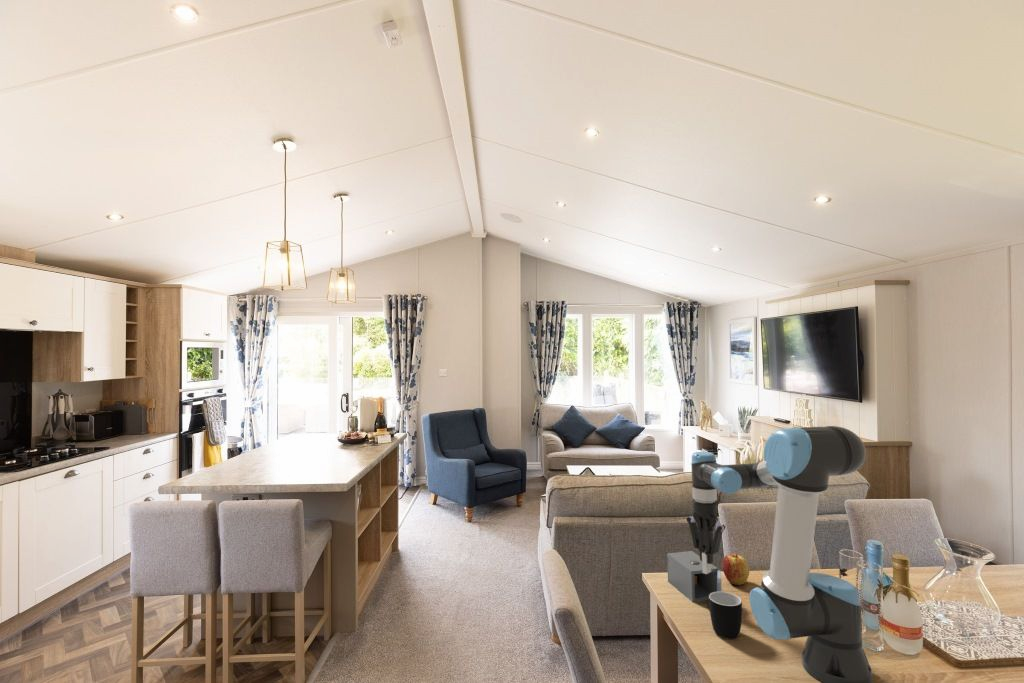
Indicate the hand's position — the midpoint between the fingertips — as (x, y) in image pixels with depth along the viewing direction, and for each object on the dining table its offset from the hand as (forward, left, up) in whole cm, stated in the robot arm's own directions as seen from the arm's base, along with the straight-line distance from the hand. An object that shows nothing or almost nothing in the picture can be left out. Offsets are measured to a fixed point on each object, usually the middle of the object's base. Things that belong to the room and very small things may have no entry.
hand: (706, 572), depth 164 cm
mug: (-15, +5, -11) cm, 19 cm away
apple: (+12, -19, -11) cm, 25 cm away
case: (+11, -1, -11) cm, 16 cm away
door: (-1, -4, -10) cm, 11 cm away
